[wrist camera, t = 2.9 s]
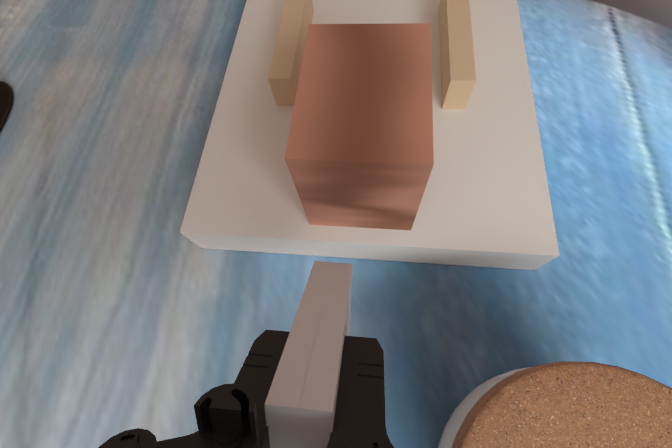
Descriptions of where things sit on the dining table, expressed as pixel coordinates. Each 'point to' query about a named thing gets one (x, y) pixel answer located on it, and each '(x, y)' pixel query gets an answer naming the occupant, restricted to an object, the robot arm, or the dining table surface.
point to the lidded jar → (563, 410)
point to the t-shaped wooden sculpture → (4, 101)
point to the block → (363, 124)
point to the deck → (448, 142)
